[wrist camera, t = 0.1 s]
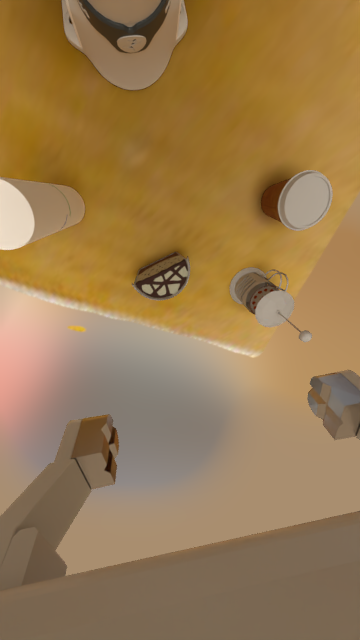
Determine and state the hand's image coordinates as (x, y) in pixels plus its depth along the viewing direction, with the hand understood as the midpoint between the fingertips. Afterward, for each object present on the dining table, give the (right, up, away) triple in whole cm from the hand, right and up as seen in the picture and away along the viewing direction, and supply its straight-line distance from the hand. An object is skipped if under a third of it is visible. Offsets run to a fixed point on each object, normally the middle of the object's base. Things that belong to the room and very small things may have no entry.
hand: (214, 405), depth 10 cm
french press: (+16, +13, +51) cm, 55 cm away
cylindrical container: (-24, +26, +38) cm, 52 cm away
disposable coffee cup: (+19, +29, +42) cm, 55 cm away
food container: (-5, +15, +46) cm, 49 cm away
